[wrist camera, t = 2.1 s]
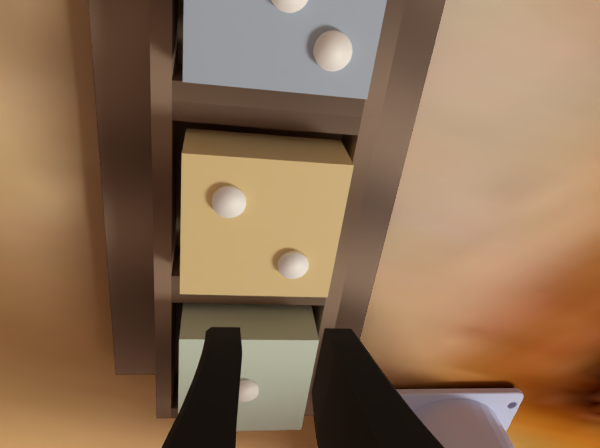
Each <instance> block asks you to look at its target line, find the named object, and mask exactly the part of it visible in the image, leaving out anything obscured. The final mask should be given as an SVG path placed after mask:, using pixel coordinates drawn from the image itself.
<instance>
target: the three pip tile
mask: <svg viewBox="0 0 600 448" xmlns="http://www.w3.org/2000/svg"><path fill="white" fill-rule="evenodd" d="M386 3H387V0H184V16H183V82H188V83H198V84H209V85H220V86H230V87H241V88H251V89H262V90H273V91H283V92H294V93H305V94H315V95H326V96H336V97H347V98H358V99H367V98H368V93H369V88H370V83H371V78H372V73H373V68H374V63H375V58H376V53H377V48H378V43H379V38H380V33H381V28H382V23H383V18H384V13H385V8H386Z"/></svg>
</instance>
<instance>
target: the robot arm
mask: <svg viewBox="0 0 600 448" xmlns="http://www.w3.org/2000/svg"><path fill="white" fill-rule="evenodd" d="M241 364H242V342H241V332H240V327H211V328H209V329H208V330H206V334H205V341H204V346H203V350H202V354H201V357H200V360H199V363H198V366H197V369H196V372H195V375H194V378H193V380H192V383H191V385H190V388H189V390H188V392H187V395H186V397H185V400H184V402H183V404H182V407H181V409H180V411H179V413H178V416H177V418H176V420H175V422H174V424H173V426H172V428H171V430H170V432H169V434H168V436H167V438H166V440H165V442H164V444H163V446H162V448H235V444H236V426H237V414H238V401H239V389H240V376H241ZM311 393H312V403H313V413H314V422H315V431H316V438H317V443H318V448H515V447H514V445H513V444H512V442H511V440H510V438H509V436H508V434H507V433H506V431H507V429H508V427H509V425H510V423H511V421H512V419H513V417H514V415H515V413H516V411H517V409H518V407H519V405H520V403H521V401H522V399H523V394H522V392H521V390H520V389H518V388H465V389H395V388H394V386H393V385H392V384H391V382H390V381H389V380H388V379H387V377H386V376H385V374H384V373H383V372H382V370H381V369H380V368H379V366H378V365H377V364H376V362H375V361H374V359H373V358H372V357H371V355H370V354H369V352H368V351H367V349H366V348H365V347H364V345H363V344H362V342H361V341H360V339H359V338H358V337H357V335H356V334H355V332H354V331H353V330H352V329H346V328H324V333H323V338H322V343H321V348H320V353H319V358H318V363H317V367H316V372H315V377H314V382H313V387H312V392H311Z"/></svg>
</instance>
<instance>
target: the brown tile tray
mask: <svg viewBox="0 0 600 448" xmlns="http://www.w3.org/2000/svg"><path fill="white" fill-rule="evenodd" d="M88 4H89V18H90V32H91V45H92V59H93V72H94V86H95V99H96V113H97V126H98V140H99V154H100V167H101V181H102V194H103V208H104V221H105V235H106V248H107V262H108V276H109V289H110V303H111V316H112V330H113V343H114V357H115V370H116V375H155V374H156V416H157V418H177V416H178V383H179V336H180V327H181V318H182V308H183V303H223V304H274V305H311V306H312V311H313V315H314V320H315V324H316V329H317V333H318V338H319V343H318V348H317V353H316V358H315V363H314V368H313V373H312V378H311V383H310V388H309V393H308V398H307V403H306V408H305V413H304V416H305V415H314V413H313V403H312V393H311V392H312V387H313V382H314V377H315V372H316V367H317V363H318V358H319V353H320V348H321V343H322V338H323V333H324V328H346V329H352V330H353V331H354V332H355V334H356V335H357V337H358V338H359V339H360V336H361V332H362V328H363V324H364V320H365V316H366V312H367V308H368V305H369V301H370V297H371V293H372V289H373V285H374V281H375V277H376V273H377V269H378V265H379V261H380V257H381V253H382V249H383V245H384V241H385V237H386V233H387V229H388V226H389V222H390V218H391V214H392V210H393V206H394V202H395V198H396V194H397V190H398V186H399V182H400V178H401V174H402V170H403V166H404V162H405V158H406V154H407V150H408V146H409V143H410V139H411V135H412V131H413V127H414V123H415V119H416V115H417V111H418V107H419V103H420V99H421V95H422V91H423V87H424V83H425V79H426V75H427V71H428V67H429V64H430V60H431V56H432V52H433V48H434V44H435V40H436V36H437V32H438V28H439V24H440V20H441V16H442V12H443V8H444V4H445V0H387V3H386V8H385V13H384V18H383V23H382V28H381V33H380V38H379V43H378V48H377V53H376V58H375V63H374V68H373V73H372V78H371V83H370V88H369V93H368V98H367V99H358V98H347V97H336V96H326V95H315V94H305V93H294V92H283V91H273V90H262V89H251V88H241V87H230V86H220V85H209V84H198V83H188V82H183V16H184V0H88ZM186 128H190V129H202V130H215V131H228V132H240V133H253V134H266V135H279V136H291V137H304V138H317V139H330V140H341V142H342V143H343V145H344V147H345V149H346V151H347V153H348V155H349V157H350V159H351V161H352V162H353V164H354V168H353V173H352V178H351V183H350V188H349V193H348V198H347V203H346V208H345V213H344V218H343V223H342V228H341V233H340V238H339V243H338V248H337V253H336V258H335V263H334V268H333V273H332V278H331V283H330V288H329V293H328V297H284V296H239V295H195V294H180V237H181V163H182V149H183V143H184V138H185V133H186Z"/></svg>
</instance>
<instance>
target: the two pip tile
mask: <svg viewBox="0 0 600 448" xmlns="http://www.w3.org/2000/svg"><path fill="white" fill-rule="evenodd" d="M353 168H354V164H353V162H352V161H351V159H350V157H349V155H348V153H347V151H346V149H345V147H344V145H343V143H342V142H341V140H330V139H317V138H304V137H291V136H279V135H266V134H253V133H240V132H228V131H215V130H202V129H190V128H186V133H185V138H184V143H183V149H182V163H181V237H180V294H195V295H239V296H284V297H328V293H329V288H330V283H331V278H332V273H333V268H334V263H335V258H336V253H337V248H338V243H339V238H340V233H341V228H342V223H343V218H344V213H345V208H346V203H347V198H348V193H349V188H350V183H351V178H352V173H353Z"/></svg>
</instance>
